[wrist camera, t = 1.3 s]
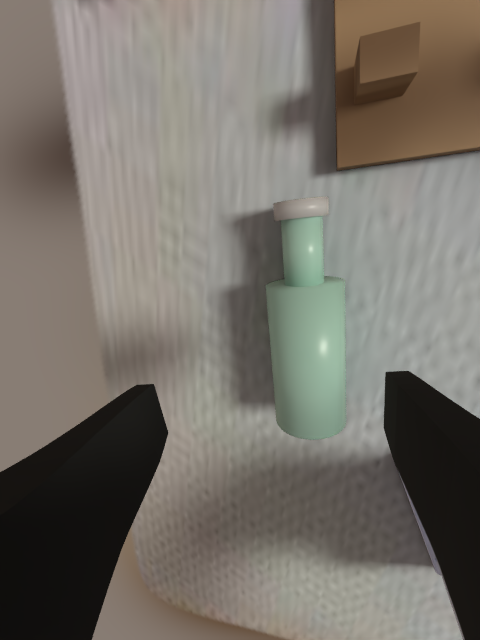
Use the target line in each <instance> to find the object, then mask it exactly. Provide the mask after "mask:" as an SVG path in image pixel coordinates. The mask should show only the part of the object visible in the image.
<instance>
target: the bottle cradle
mask: <svg viewBox="0 0 480 640" xmlns="http://www.w3.org/2000/svg"><path fill="white" fill-rule="evenodd" d="M334 28H335V92H336V157H337V171H340V170H347V169H354V168H361V167H368V166H375V165H381V164H388V163H395V162H402V161H409V160H416V159H423V158H430V157H436V156H443V155H450V154H457V153H464V152H471V151H478V150H480V0H334Z"/></svg>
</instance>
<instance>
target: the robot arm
mask: <svg viewBox="0 0 480 640" xmlns="http://www.w3.org/2000/svg"><path fill="white" fill-rule="evenodd" d="M384 430H385V434H386V437H387V440H388V444H389V447H390V450H391V453H392V457H393V460H394V462H395V465H396V467H397V470H398V472H399V475H400V478H401V480H402V483H403V486H404V488H405V491H406V494H407V496H408V499H409V502H410V504H411V507H412V510H413V512H414V515H415V518H416V520H417V523H418V526H419V528H420V531H421V534H422V537H423V539H424V542H425V545H426V547H427V550H428V553H429V555H430V558H431V561H432V563H433V566H434V569H435V571H436V573H438V574H439V575H441V576H442V578H443V581H444V584H445V587H446V590H447V593H448V596H449V599H450V602H451V605H452V608H453V611H454V614H455V617H456V620H457V623H458V626H459V629H460V632H461V635H462V638H463V640H480V419H479V418H477V417H476V416H474V415H473V414H471V413H470V412H468V411H467V410H465V409H464V408H462V407H461V406H459V405H458V404H456V403H455V402H453V401H452V400H450V399H449V398H447V397H446V396H444V395H443V394H441V393H440V392H439V391H437V390H436V389H434V388H433V387H431V386H430V385H429V384H427V383H426V382H424V381H423V380H421V379H420V378H418V377H417V376H415V375H414V374H412V373H411V372H409V371H397V372H386V377H385V407H384ZM167 436H168V430H167V427H166V423H165V420H164V417H163V413H162V410H161V407H160V403H159V400H158V397H157V393H156V390H155V386H154V384H146V385H136V386H134V387H132V388H131V389H129V390H127V391H126V392H124V393H123V394H121V395H120V396H118V397H117V398H116V399H114V400H113V401H111V402H110V403H108V404H107V405H106V406H104V407H103V408H101V409H100V410H98V411H97V412H95V413H94V414H93V415H92V416H90V417H88V418H87V419H86V420H84V421H83V422H81V423H80V424H78V425H77V426H75V427H74V428H72V429H71V430H69V431H68V432H66V433H65V434H63V435H62V436H60V437H59V438H57V439H56V440H54V441H52V442H51V443H49V444H48V445H46V446H45V447H43V448H42V449H40V450H38V451H37V452H35V453H33V454H32V455H30V456H28V457H27V458H25V459H23V460H21V461H20V462H18V463H16V464H14V465H12V466H11V467H9V468H7V469H6V470H4V471H2V472H0V640H92V637H93V633H94V630H95V627H96V624H97V621H98V618H99V614H100V612H101V608H102V605H103V602H104V599H105V596H106V593H107V589H108V586H109V584H110V581H111V578H112V575H113V572H114V569H115V566H116V563H117V561H118V557H119V555H120V552H121V549H122V547H123V544H124V542H125V539H126V537H127V534H128V532H129V530H130V528H131V525H132V523H133V521H134V519H135V517H136V514H137V512H138V510H139V508H140V505H141V503H142V501H143V499H144V497H145V494H146V492H147V490H148V488H149V485H150V483H151V481H152V479H153V476H154V474H155V472H156V469H157V467H158V465H159V462H160V459H161V456H162V453H163V450H164V446H165V443H166V439H167Z"/></svg>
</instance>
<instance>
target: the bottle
mask: <svg viewBox="0 0 480 640" xmlns="http://www.w3.org/2000/svg"><path fill="white" fill-rule="evenodd" d="M273 206H274V221H281V234H282V250H283V266H284V279H282V280H277V281H273V282H271V283H268V284H267V285H266V298H267V311H268V323H269V336H270V348H271V361H272V373H273V386H274V398H275V410H276V421H277V424H278V426H279V427H280V428H281V429H282V430H283V431H284V432H286V433H288V434H289V435H292V436H294V437H297V438H302V439H309V440H317V439H325V438H329V437H332V436H334V435H336V434H338V433H339V432H341V431H342V430H343V428H344V427H345V425H346V346H345V280H344V279H342V278H338V277H330V276H324V257H323V221H322V216H327V215H329V201H328V197H313V198H303V199H295V200H288V201H282V202H277V203H274V204H273Z"/></svg>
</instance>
